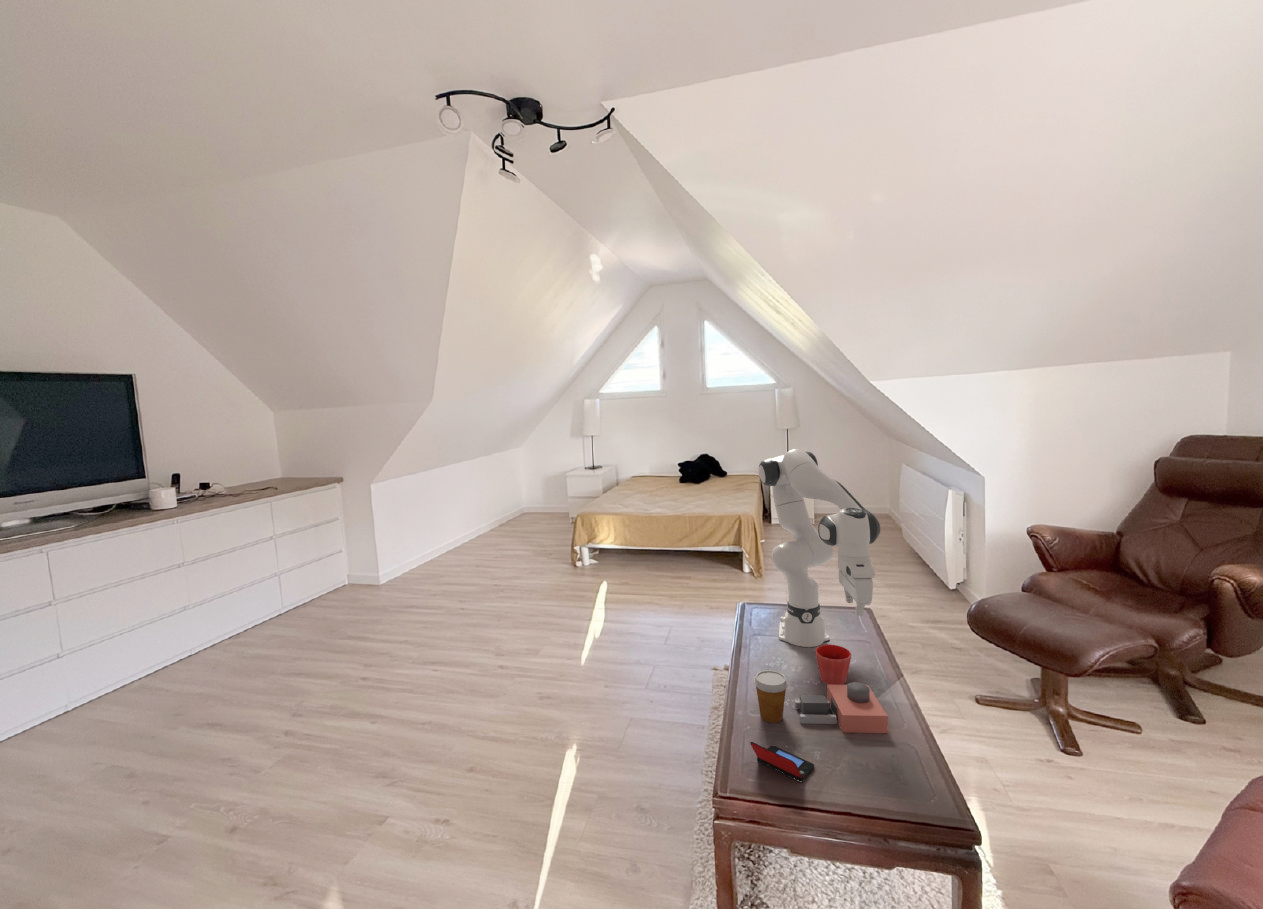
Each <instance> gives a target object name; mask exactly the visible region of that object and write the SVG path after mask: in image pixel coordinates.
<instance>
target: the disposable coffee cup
mask: <svg viewBox="0 0 1263 909" xmlns="http://www.w3.org/2000/svg"><path fill="white" fill-rule="evenodd" d="M753 682H754V685H755V689H756V694H757V702H758V708H759V715H760V718H761V719H762V720H763V721H765V722H768V723H771V724H773V723H779V722H781V721H783V716H784V708H785V699H786V692H787V691H786V690H787V688H788V684H789V683H788V680H787V678H786V676H785V675H784V674H783V673H781V672H779V671H775V670H769V669H768V670H767V669H765V670H761V671H759V672H756V675H755V677H754V679H753Z"/></svg>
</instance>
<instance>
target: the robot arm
mask: <svg viewBox="0 0 1263 909" xmlns="http://www.w3.org/2000/svg"><path fill="white" fill-rule="evenodd" d="M758 476H759V479H760V481H761V483H762V484H764V485H765V486H766V487H772V496H773V502H774V506H775V511H776V514H777V515H776V516H777V518H778V522H779V525H780V527H781V528H782V529H783V530H785V531H787V532H789V533H790V534H791V536H792V537H793V538H794V540H790V541H789V540H788V541H785V542H782V543H780V544H779V545H778V544H777V545H776V546H774V547H773V548H772V551H771V560H772V561H771V562H772V564H773V566H774V567H775V568H776V569H777V571H779V572H781V573H782V574H783V576H784V578H785V580H786V584H787V594H788V596H787V597H788V599H787V600H788V601H787V604H786V612H784V616H780V621H779V627H778V628H779V629H778V640H780V641H783V642H787V643H789V644H791V645H793V646H797V647H801V648H802V647H804V648H812V647H813V648H814V647H819V646H821V645H823V644H824V642H826V641H829V640H830V636H829V635H828V634H827V633H826V631H825V630H826V629H825V628H826V627H825V626H826V625H825V619H824V617H823V616H822V615H821V605H820V602H819V600H820V599H819V598H820V597H819V595H820V594H819V589H820V588H819V584H818V583H817V581H816V580H815V579H813V578H811V577H810V576H809V573H808V570H809V569H811V568H815V567H819V566H822V565H824V564H827V563H828V562H830V561H831V560H832V559H833V557H834V554H835V552H834V547H833V546H835V547H837V548H838V551H837V569H838V582H839V583H840V585H841V586H842V588H843V592H844V595H845V602H846V603H848V604H853V602H855V608H854V611H855V612H854V613H855V614H856V615H857V616H863V615H864V609H865V606H870V605H871V604H872V601H873V591H874V585H873V584H874V581H873V578H875V574H876V572H875V570H874V568H873V566H872V563H871V551H870V549H869V548H870V547H869V546H870V545H871V544H874V542H876V540H877V539H878V538H879V536H880V533H881V525H880V524H881V523H880V522H879V519H878V518H877V517H876V516H875V515H874V514H873V513H872V512H871V511H869V510H868V509H866V508H865V507H864V506H863V505H862V504H861V503H860V502H859V501H858V500H857V499H856V498H855V497H854V496H853V494H852V493H851V492H850V491H849V490H848V489H847V488H846V487H845V486H844V485H843V484H842V483H841V482H839V481H837V480H835V479H833V478H831V477H830V476H829V475H827V474H826V473H825V472H823V470H822V469H821V468H820V467H819V464H818V460H817V457H816V455H814V454H813V452H811V451H804V450H803V449H800V448H793V449H790V450H788V451H787V452H785V454H781V455H778V456H775V457H771V458H769V457H768V458H765V459H763V460H762V461H761V462H760V463H759V465H758ZM805 499H811V500H819V501H825V502H829V503H831V504H833V505H836V506H837V507H838V508H839V511H838V512H837V513H835V514H833V513H832V514H828V515H824V516H823V517H822V518H821V519H820V521H819V522H818V526H817V527H818V529H816V527H815V526H814V525H813V522H812V521H811V519H810V517H809V516H810V515H809V513H808V509H807V506H806V502H805Z"/></svg>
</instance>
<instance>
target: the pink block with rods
mask: <svg viewBox="0 0 1263 909" xmlns="http://www.w3.org/2000/svg"><path fill="white" fill-rule="evenodd" d="M826 687H827V689H826V690H827V693H826V694H827V695H826V700H827V702H828V710H831V713H832V714H828V715H813V714H801V713H800V714H799V722H800V724H807V725H808V724H814V725H815V724H817V725H818V724H820V725H837V724H838V725H839V728H840V729H841V732H842V733H854V734H855V733H861V734H863V733H864V734H888V733H889V724H888V723H889V718H888V717H889V716H888V714H887V712H886V711H885V709H884V708H883V706H882V705H881V702H879V700H878V698H877V697H876V695H875V694H874V692H873V691H872V689H871V687H870V686H869V685H868V684H864V683H862V682H859V681H858V682H857V681H856V682H855V681H853V682H849V683H847V684H843V685H829V684H826ZM794 708H795V710H800V699H798V700H797V699H796V700H794Z"/></svg>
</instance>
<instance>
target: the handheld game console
mask: <svg viewBox="0 0 1263 909" xmlns="http://www.w3.org/2000/svg"><path fill="white" fill-rule="evenodd" d="M749 743H750V747H751V748H752V750H753V751H754V753H755V756H756V759H757V762H758V763H760V764H762V765H764V766H766V765H767V766H766V767H768V766H769V767H768V768H770V767H771V769H773V770H775V769H777V770H776V771H779V772H781V773H782V772H783V773H784V774H783V773H782V774H783V775H784V776H786V775H787V777H788V776H790V777H792V778H795V779H796V780H799V781H803V780H804V781H805V780H806V779H807V778H808V777H807V776H809V775H810V774H811V773H812V772H813V771H814V770H815V764H814V763H812V762H810V761H808V760H806V759H804V758H802V757H800V756H798V755H796V754H793V753H792V752H788V751H787V750H784V749H782V748H780V747H778V746H775V745H770V746H768V748H766V747H764V746H761V745H759V744H758V743H755V742H752V741H750V742H749ZM790 777H789V778H790ZM792 778H791V779H792ZM796 780H795V781H796ZM804 781H803V782H804Z"/></svg>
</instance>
